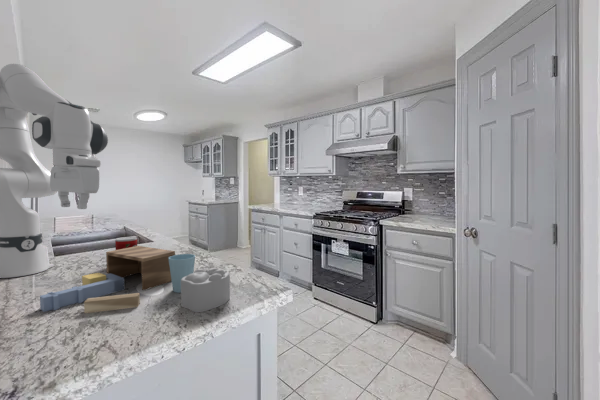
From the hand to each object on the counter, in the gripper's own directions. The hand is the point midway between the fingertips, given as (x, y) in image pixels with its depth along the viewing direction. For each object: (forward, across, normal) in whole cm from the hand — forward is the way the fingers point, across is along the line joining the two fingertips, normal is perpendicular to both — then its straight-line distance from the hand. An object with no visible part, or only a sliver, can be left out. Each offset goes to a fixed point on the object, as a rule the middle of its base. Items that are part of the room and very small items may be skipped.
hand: (73, 208), depth 83 cm
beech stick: (+26, +20, 0) cm, 32 cm away
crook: (+26, +3, +1) cm, 26 cm away
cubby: (+26, +4, +17) cm, 31 cm away
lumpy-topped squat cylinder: (+25, +38, +15) cm, 48 cm away
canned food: (+27, -21, +28) cm, 44 cm away
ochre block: (+26, 0, +6) cm, 27 cm away
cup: (+25, +24, +18) cm, 40 cm away
